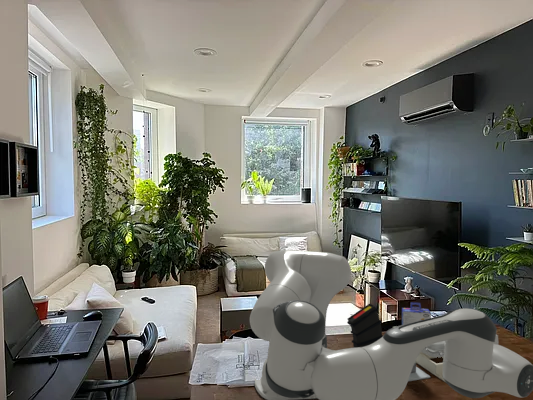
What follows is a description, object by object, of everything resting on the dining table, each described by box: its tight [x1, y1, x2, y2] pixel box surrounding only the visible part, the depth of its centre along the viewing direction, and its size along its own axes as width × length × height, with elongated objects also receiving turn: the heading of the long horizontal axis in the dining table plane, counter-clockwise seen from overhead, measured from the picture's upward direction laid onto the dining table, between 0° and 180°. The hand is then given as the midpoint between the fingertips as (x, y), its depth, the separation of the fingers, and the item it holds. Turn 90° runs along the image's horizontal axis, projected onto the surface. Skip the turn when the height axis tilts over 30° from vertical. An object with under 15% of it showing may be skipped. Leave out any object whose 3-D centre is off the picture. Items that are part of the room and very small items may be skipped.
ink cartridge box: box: [401, 301, 432, 325], centre depth 143 cm, size 10×6×14 cm, turn 77°
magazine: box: [346, 303, 384, 348], centre depth 140 cm, size 4×13×15 cm, turn 111°
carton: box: [416, 352, 446, 383], centre depth 123 cm, size 11×16×12 cm
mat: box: [408, 366, 431, 382], centre depth 121 cm, size 10×12×1 cm
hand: (432, 330), depth 110 cm, fingers open, 8 cm apart
